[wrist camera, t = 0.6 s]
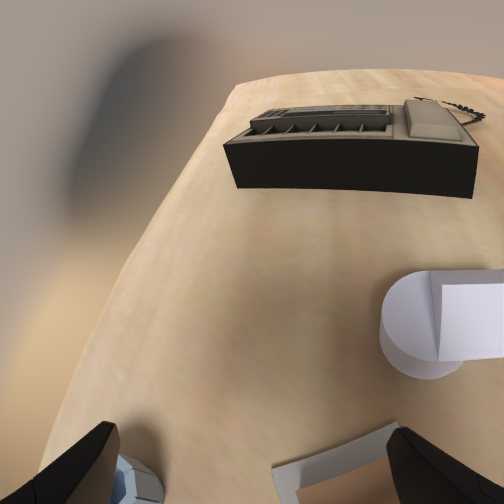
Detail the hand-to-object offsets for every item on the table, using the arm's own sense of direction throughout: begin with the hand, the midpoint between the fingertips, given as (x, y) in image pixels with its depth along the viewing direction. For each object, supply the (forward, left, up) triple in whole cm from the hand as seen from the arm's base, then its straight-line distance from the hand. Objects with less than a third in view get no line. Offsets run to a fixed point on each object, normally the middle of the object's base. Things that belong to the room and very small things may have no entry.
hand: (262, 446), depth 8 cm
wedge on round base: (+7, -16, -15) cm, 23 cm away
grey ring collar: (+2, +14, -15) cm, 21 cm away
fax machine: (+43, -32, -16) cm, 56 cm away
